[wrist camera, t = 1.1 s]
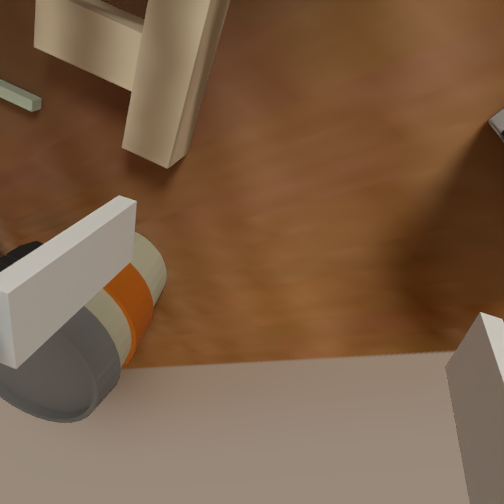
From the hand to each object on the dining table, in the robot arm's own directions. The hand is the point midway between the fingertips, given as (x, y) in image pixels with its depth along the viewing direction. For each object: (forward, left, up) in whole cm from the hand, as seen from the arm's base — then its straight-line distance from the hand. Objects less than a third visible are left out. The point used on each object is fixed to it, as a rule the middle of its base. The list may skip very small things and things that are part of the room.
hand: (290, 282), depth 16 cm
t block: (0, -17, -20) cm, 26 cm away
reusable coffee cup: (+21, -14, -20) cm, 32 cm away
